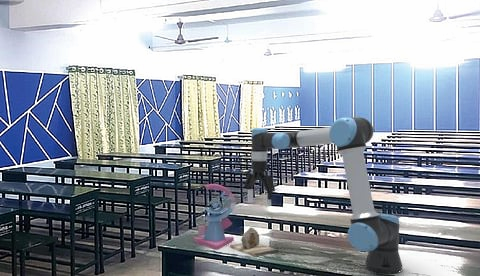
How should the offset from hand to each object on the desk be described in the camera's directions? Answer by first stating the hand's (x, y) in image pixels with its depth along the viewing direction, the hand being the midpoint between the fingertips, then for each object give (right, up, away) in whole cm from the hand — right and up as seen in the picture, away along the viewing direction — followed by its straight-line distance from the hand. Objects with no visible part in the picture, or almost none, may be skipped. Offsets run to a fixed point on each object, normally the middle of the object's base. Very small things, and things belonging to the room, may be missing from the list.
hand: (259, 204), depth 244 cm
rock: (-5, -20, 0) cm, 21 cm away
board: (-3, -21, -2) cm, 22 cm away
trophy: (-22, -21, +10) cm, 32 cm away
